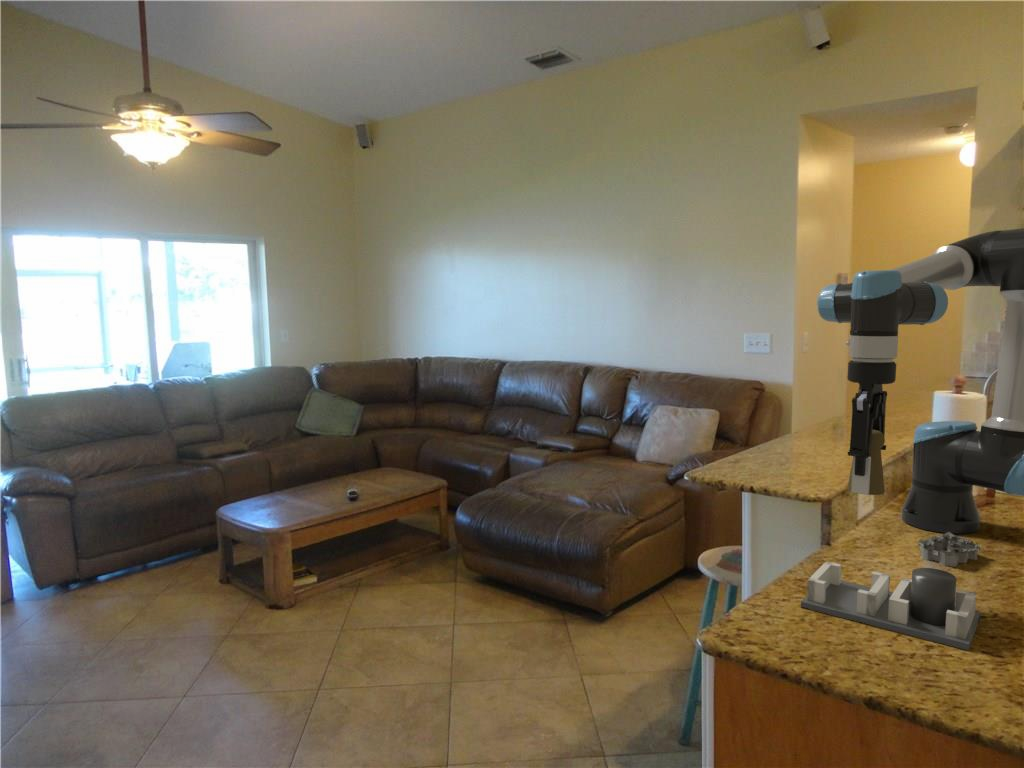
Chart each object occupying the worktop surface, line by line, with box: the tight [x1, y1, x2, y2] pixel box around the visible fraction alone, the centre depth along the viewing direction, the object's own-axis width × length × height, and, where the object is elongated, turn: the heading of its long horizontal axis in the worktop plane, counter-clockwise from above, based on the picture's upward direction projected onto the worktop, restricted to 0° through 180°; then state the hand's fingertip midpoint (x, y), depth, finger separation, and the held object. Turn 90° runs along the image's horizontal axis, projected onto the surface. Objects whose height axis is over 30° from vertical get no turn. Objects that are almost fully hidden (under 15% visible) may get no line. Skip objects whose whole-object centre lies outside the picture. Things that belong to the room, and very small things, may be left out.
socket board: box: [800, 560, 981, 652], centre depth 115 cm, size 13×24×8 cm, turn 50°
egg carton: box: [917, 532, 982, 568], centre depth 138 cm, size 11×8×4 cm
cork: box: [846, 430, 886, 496], centre depth 124 cm, size 6×6×11 cm
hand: (865, 488), depth 125 cm, fingers closed on cork, 6 cm apart
